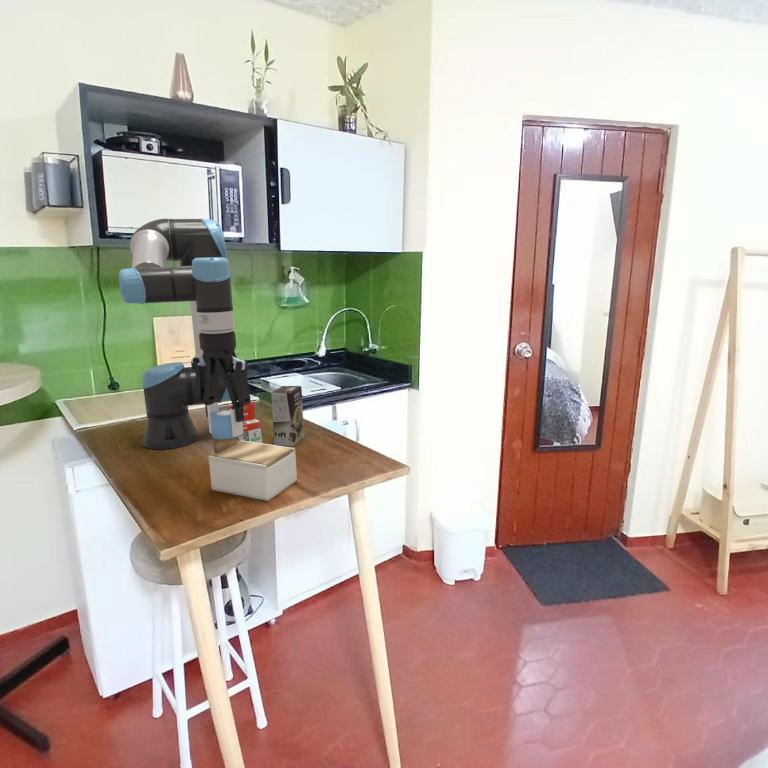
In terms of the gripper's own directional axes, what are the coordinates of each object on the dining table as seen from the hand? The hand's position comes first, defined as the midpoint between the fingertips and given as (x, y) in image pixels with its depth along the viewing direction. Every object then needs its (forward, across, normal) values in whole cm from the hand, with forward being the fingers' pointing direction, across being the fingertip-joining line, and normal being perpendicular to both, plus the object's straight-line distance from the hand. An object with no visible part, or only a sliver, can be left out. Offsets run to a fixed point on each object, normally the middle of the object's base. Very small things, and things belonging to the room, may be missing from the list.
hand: (226, 433), depth 117 cm
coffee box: (+15, -9, +36) cm, 40 cm away
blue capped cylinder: (0, 0, 0) cm, 0 cm away
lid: (+7, +1, +6) cm, 10 cm away
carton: (+15, +2, +6) cm, 16 cm away
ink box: (+15, -13, +21) cm, 29 cm away
